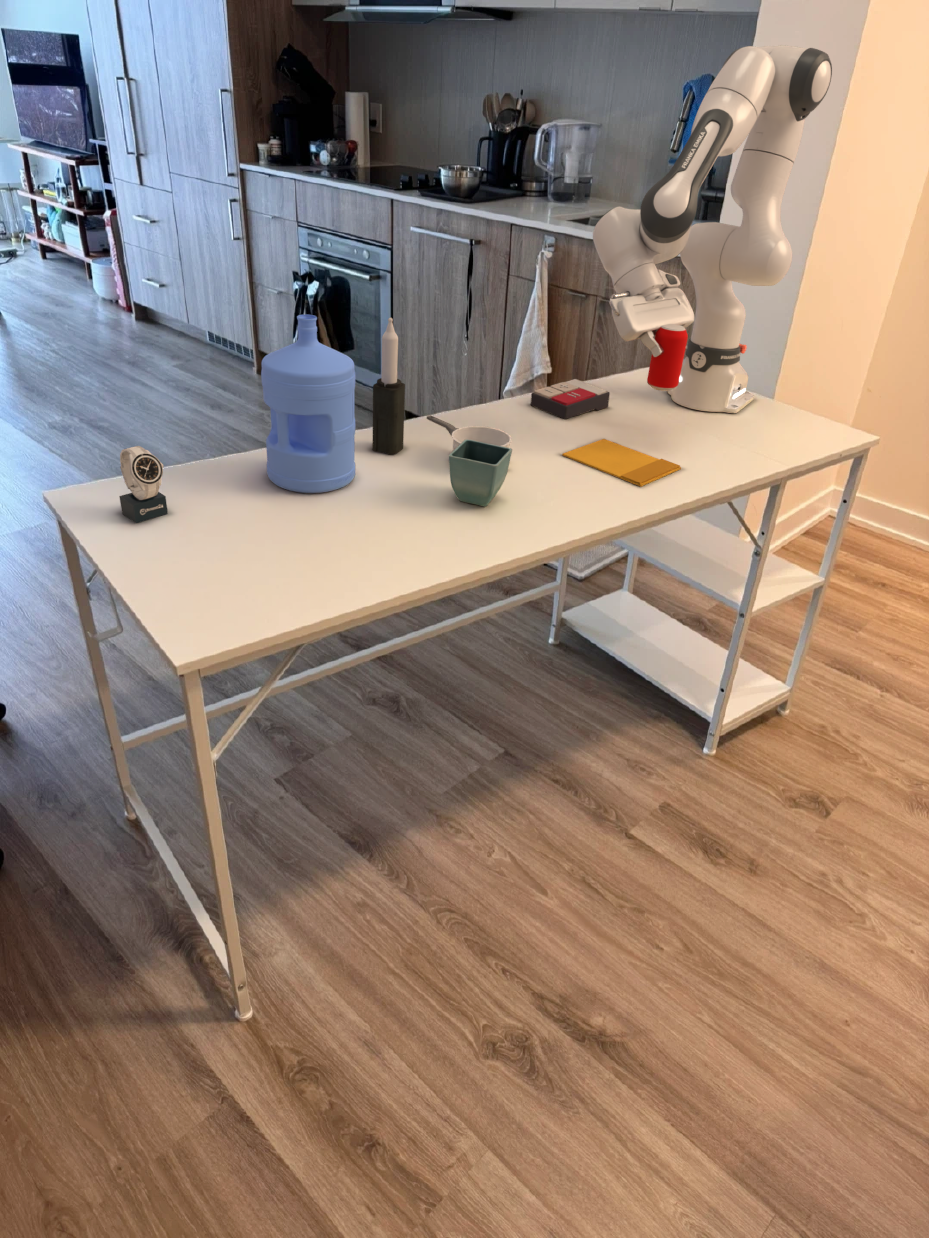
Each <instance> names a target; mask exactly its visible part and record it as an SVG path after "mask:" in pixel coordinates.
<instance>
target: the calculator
mask: <svg viewBox="0 0 929 1238" xmlns="http://www.w3.org/2000/svg"><path fill="white" fill-rule="evenodd" d="M530 395H531V396H530V406H531V407H534V408H536V409H538V410H541V411H544V412H546V413H549V414H551V415H552V416H555V417H558V418H561V419H562V420H568V419H570V418H573V417H577V416H579V415H581V414H582V415H583V414H585V413H588V412H591V411H593V410H596V411H601V410H603V409H607V408H609V403H610V402H609V401H610V395H611V393H610V391H608V390H607V389H604V388H601V387H599V386H596V385H594V384H591V383H587V382H585V381H583V380H579V379H577V378H574V379H570V380H567V381H562V382H557V383H555V384H552V385H550V386H545V387H542V388H540V389H535V390H534V391H533V392H531V394H530Z"/></svg>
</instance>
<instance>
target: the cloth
mask: <svg viewBox="0 0 929 1238" xmlns="http://www.w3.org/2000/svg"><path fill="white" fill-rule="evenodd" d="M561 455H562V457H564V458H568V459H570V460H572V461H574V462H578V463H580V464H582V465H585V466H588V467H591V468H593V469H594V470H598V471H599V472H603V473H605V474H607V475H611V476H612V477H615V478H618V479H620V480H623V481H625V482H627V483H631V484H633V485H635V486H637V487H640V488H641V487H644V486H647V485H648V484H650V483H653V482H655V481H657V480H659V479H662V478H664V477H666V476H669V475H672V474H673V473H675V472H678V471H680V470H681V469H682V467H681V465H680V464H677V463H675V462H672V461H669V460H666V459H665V458H657V457H654V456H651V455H649V454H646V453H644V452H640V451H638V450H635V449H633V448H630V447H628V446H624V445H622V444H619V443H616V442H613V441H612V440H608V439H606V438H601V439H598V440H597V441H594V442H590V443H588V444H585V445H583V446H579V447H576V448H574V449H571V450H568V451H566V452H563V453H562V454H561Z"/></svg>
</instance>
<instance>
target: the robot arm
mask: <svg viewBox="0 0 929 1238" xmlns="http://www.w3.org/2000/svg"><path fill="white" fill-rule="evenodd" d="M832 77H833V64H832V61H831V58H830V56H829V54H828V53H827V52H825V51H823V50H821V49H817V48H815V47H809V48H805V47H799V46H793V45H787V44H785V45H784V44H778V45H764V46H753V45H748V46H747V45H746V46H743V47H739V48H737V49H735V50H733V51H732V52H731V53H730V54H729V56H728V57H727V58H726V59H725V61H724V62H723V65H722V67H721V69H720V70H719V72H718V73H717V75H716V76H715V78H714V80H713V81H712V82H711V84H710V86H709V88H708V90H707V91H706V92H705V95H704V97H703V99H702V101H701V103H700V105H699V107H698V110H697V112H696V115H695V117H694V120H693V123H692V126H691V130H690V131H691V133H690V136H689V137H688V139H687V141H686V143H685V145H684V146H683V148H682V150H681V152H680V153H679V155H678V157H677V159H676V160H675V162H674V164H673V165H672V167H671V169H670V170H669V171H668V172H667V174H665V175H664V177H662V178H661V179H660V180H659V181H657V182H656V183H655V184H654V185H652V187H650V188H649V190H648V191H647V192H645V195H644V197H643V198H642V201H641V203H640V208H639V209H633V208H626V207H623V206H615V207H613V208H610V210H608V211H607V212H606V213H604V214H603V215H602V216H601V217H600V218H599V220H598V221H597V222H596V224H595V225H594V228H593V232H592V241H593V245H594V248H595V250H596V253H597V256H598V258H599V261H600V263H601V264H602V267H603V269H604V270H605V271H606V273H607V274H608V275H609V277H610V278H611V283H612V288H613V290H614V291H615V293H612V294H611V295H610V298H609V301H608V303H609V306H610V308H611V315H612V319H613V322H614V324H615V328H616V330H617V332H618V335H619V337H620V338H621V339H622V340H623V341H624V342H629V341H635V340H640V341H641V343H642V344H643V345H644V346H645V347H646V348H647V349H648V351H650V352H651V355H652V354H653V356H654V357H658V356H660V355H662V354H663V353H664V349H663V347H662V346H661V344H659V345H658V343H657V342H656V341H655V334H656V331H657V330H658V329H660V327H661V326H662V325H666V324H676V325H681V326H683V327H684V328H685V329H687V328H688V327H689V326H691V325H692V324H693V326H692V331H691V336H690V338H689V339H688V340H687V344H686V349H685V356H684V359H683V364H682V369H681V373H680V378H679V383H678V386H677V387H675V388H674V389H671V390H668V391H666V392H667V394H668V395H670V399H671V400H672V401H673V402H674V403H676V404H678V405H679V406H682V407H685V408H687V409H692V410H697V411H702V412H710V413H711V412H713V413H715V412H717V413H729V414H738V412H740V411H741V410H743V408H745V407H746V406H747V405H749V404H750V403H751V402H753V401H754V400H755V395H754V394H753V393H751V392H749V391H747V386H748V381H749V374H748V373H747V371H746V370H745V369H744V367H743V366H742V364H741V362H740V360H741V354H742V355H743V354H745V353H746V351H747V349H748V347H747V344H743V343H740V342H741V340H742V339H741V338H742V335H743V331H744V326H745V322H746V317H747V313H746V312H747V311H746V308H745V306H744V304H743V303H742V302H741V300H739V299H738V297H737V296H736V295H735V291H734V287H733V282H734V283H738V284H743V285H747V286H750V287H773V286H776V285H777V284H779V283H780V282H781V281H782V280H783V279H784V278H785V277H786V275H787V273H789V271H790V268H791V265H792V262H793V249H792V246H791V243H790V241H789V240H788V238H787V236H786V234H785V232H784V229H783V226H782V220H781V219H782V217H781V212H782V211H781V210H782V202H783V198H784V194H785V190H786V188H787V185H788V182H789V179H790V176H791V172H792V170H793V167H794V165H795V161H796V158H797V157H798V152H799V149H800V145H801V141H802V137H803V132H804V127H805V121H806V118H808V116H810V114H811V113H812V112H814V110H816V109H817V108H818V106H819V105H820V104H821V103H822V101H823V100H824V99H825V97H826V95H827V93H828V91H829V89H830V85H831V81H832ZM744 141H745V143H744ZM743 143H744V146H743V148H742V151H741V154H740V157H739V160H738V163H737V167H736V169H735V172H734V175H733V178H732V181H731V184H730V194H731V197H732V199H733V201H734V202H735V204H736V205H737V206H738V207H739V208H740V209H741V210H742V219H741V224H740V226H738V225H733V224H728V223H723V222H718V221H717V222H716V221H709V222H696V223H695V224H693V222H694V220H695V218H696V214H697V209H698V198H699V197H698V196H699V191H700V189H701V187H702V185H703V183H704V181H705V180H706V178H707V176H708V174H709V172H710V170H711V169H712V167H713V166H714V164H715V162H716V160H717V158H718V157H728V156H729V155H733V154H734V153H735V152H737V150H738V149H739V148H740V146H741V145H742V144H743ZM678 256H680V260H681V263H682V265H683V266H684V267H685V268H686V270H687V273H688V274H689V275H690V278H691V281H692V284H693V288H694V293H695V294H694V295H695V312H694V310H693V307H692V305H691V303H690V301H689V300H688V297H687V295H686V293H685V292H684V291H683V290H682V289H681V288H680V285H681V281H680V279H679V277H678V276H677V275H675V274H671V273H668V272H665V271H664V270H662V269H658V268H657V265H659V264H663V263H665V262H668V261H671V260H673V259H675V258H677V257H678Z"/></svg>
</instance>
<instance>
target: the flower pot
mask: <svg viewBox="0 0 929 1238" xmlns="http://www.w3.org/2000/svg"><path fill="white" fill-rule="evenodd" d="M512 452H513V449H512V448H511V447H509V448H507V447H502V446H497V445H492V444H487V443H483V442H479V441H474V440H468V439H465V440H464V441H463V442H462V443H461V444H460V445H459V446H458V447H457V448H456V449H455V450H454V451H453V450H452V451H451V452H449V454H448V469H449V480H450V484H451V488H452V491H453V493H454V495H455V496H456V498H457V499H458V501H459V502H463V503H466V504H467V503H468V504H472V505H476V506H480V507H487V506H488V505H489V504H490V503H491V501H493V499H494V498H495V496H496V495H497V494H498V492H499V491H500V490H501V488H502V486H503V484H504V483H505V480H506V478H507V474H508V471H509V466H510V462H511V458H512Z"/></svg>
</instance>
